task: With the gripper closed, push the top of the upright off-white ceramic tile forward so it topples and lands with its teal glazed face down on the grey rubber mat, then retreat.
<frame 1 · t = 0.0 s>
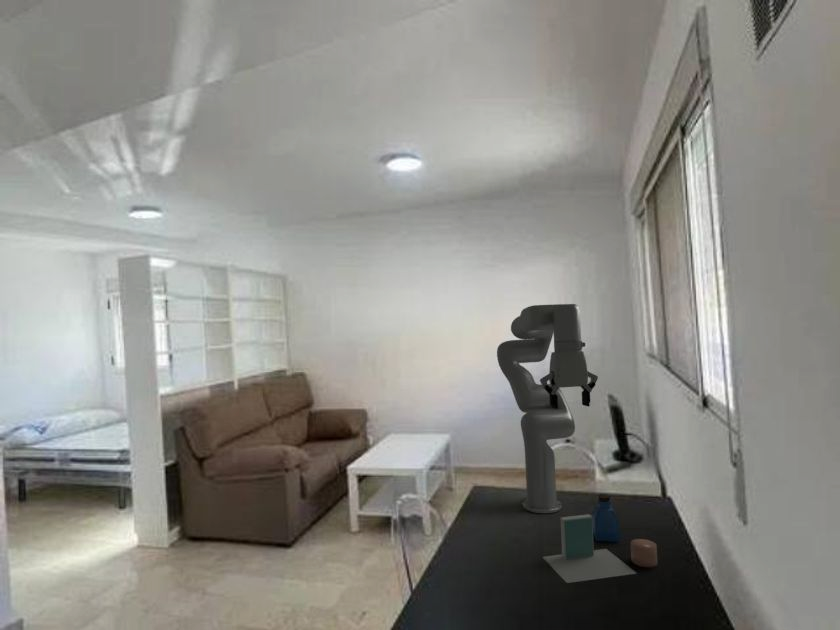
hand: (570, 406, 150), 37 cm above the table, tool pointing down, fingers open, 9 cm apart
brown rounded cylinder: (644, 564, 131), on the table
tile: (578, 556, 135), point 1 cm above the table, touching mat
mat: (587, 567, 130), on the table
perfume bottle: (606, 539, 147), on the table
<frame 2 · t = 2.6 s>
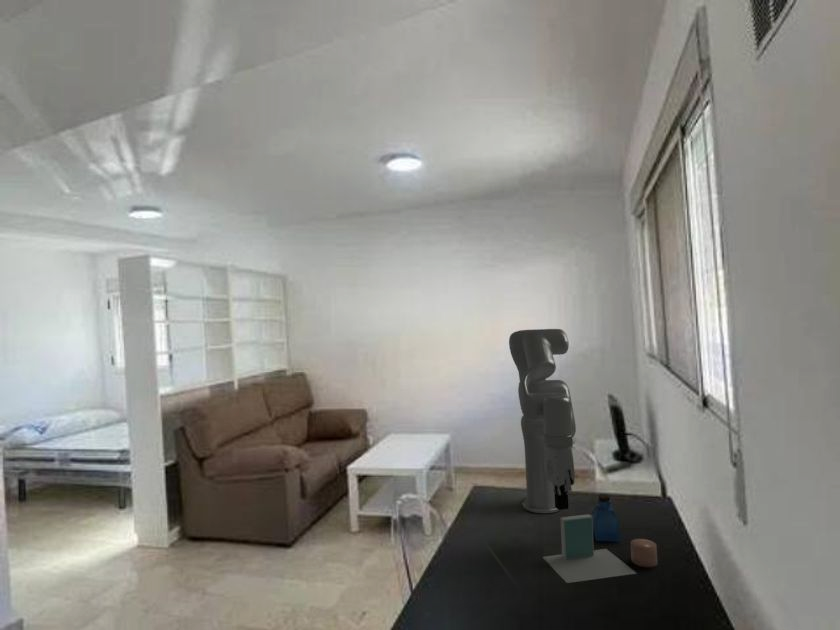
hand: (561, 508, 144), 10 cm above the table, tool pointing down, fingers closed
nothing on the table moved.
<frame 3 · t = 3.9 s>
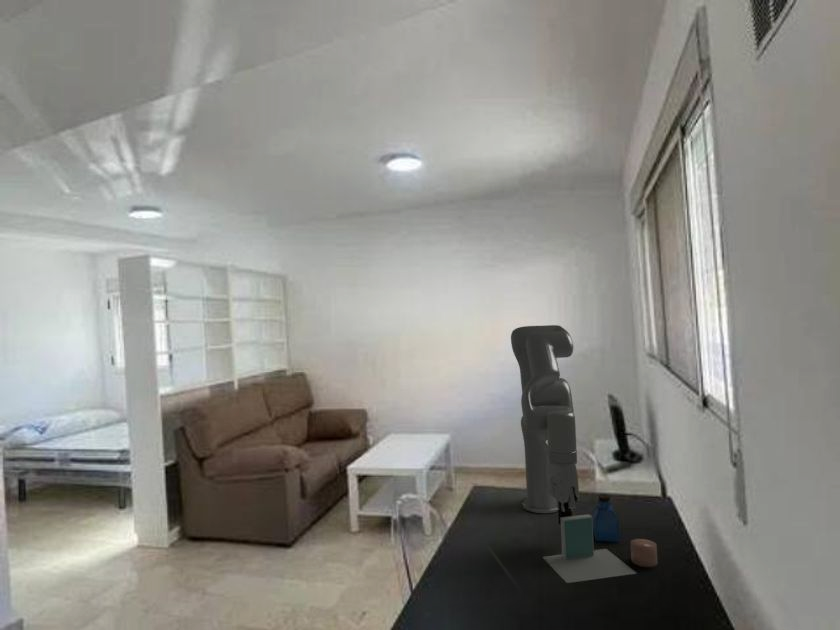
hand: (565, 524, 142), 6 cm above the table, tool pointing down, fingers closed
nothing on the table moved.
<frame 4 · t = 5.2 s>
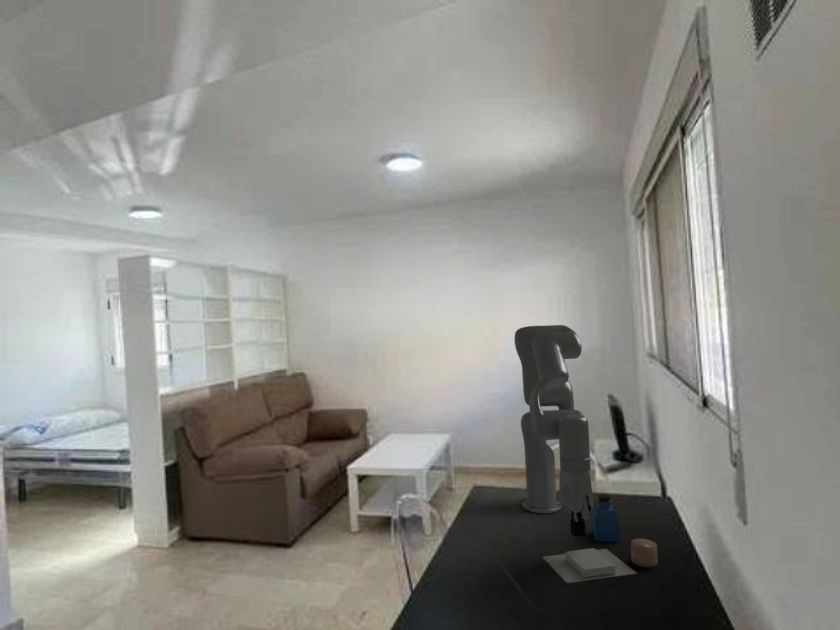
hand: (578, 535, 135), 6 cm above the table, tool pointing down, fingers closed
tile: (579, 553, 134), point 2 cm above the table, tilted 90°, touching mat
everything else where it was.
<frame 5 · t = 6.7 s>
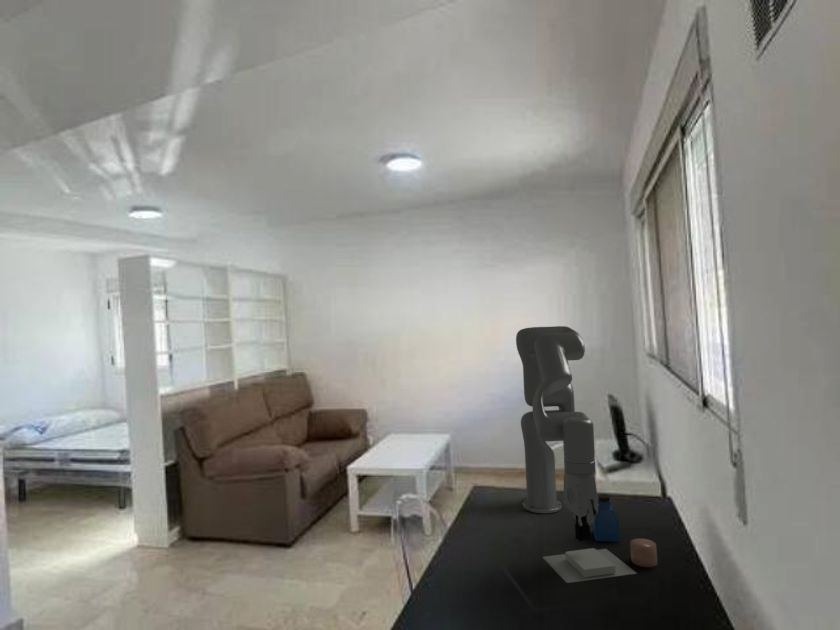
hand: (582, 539, 133), 6 cm above the table, tool pointing down, fingers closed
nothing on the table moved.
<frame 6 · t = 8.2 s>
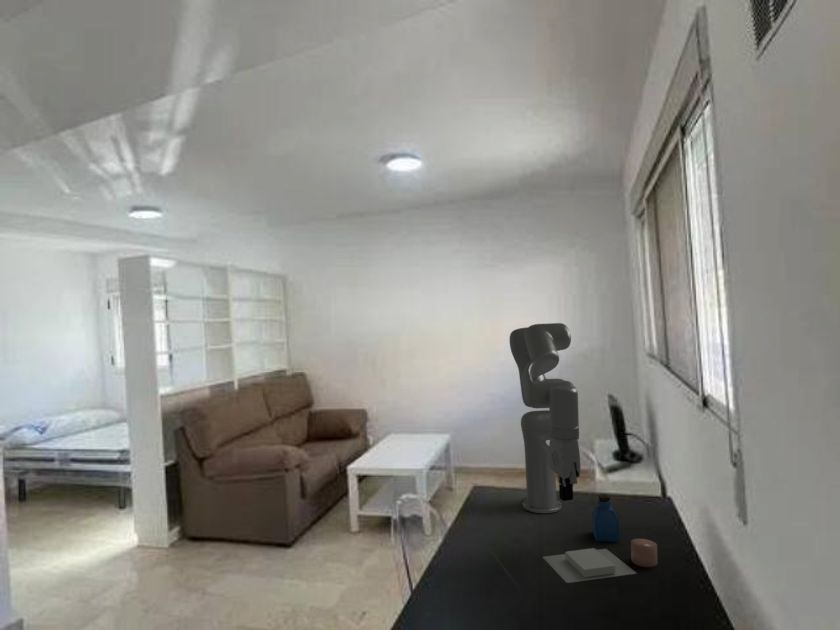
hand: (566, 499, 142), 13 cm above the table, tool pointing down, fingers closed
nothing on the table moved.
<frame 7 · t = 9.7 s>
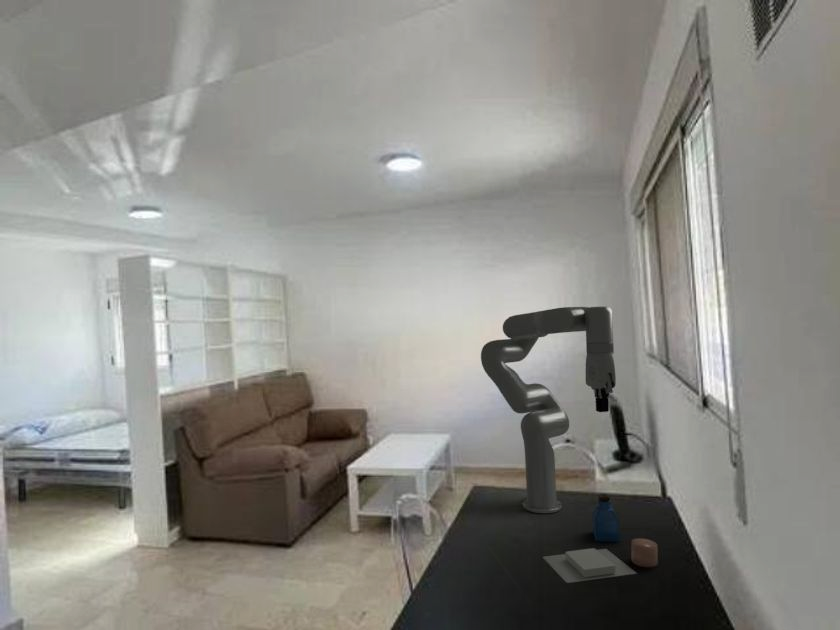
hand: (602, 411, 153), 34 cm above the table, tool pointing down, fingers closed
nothing on the table moved.
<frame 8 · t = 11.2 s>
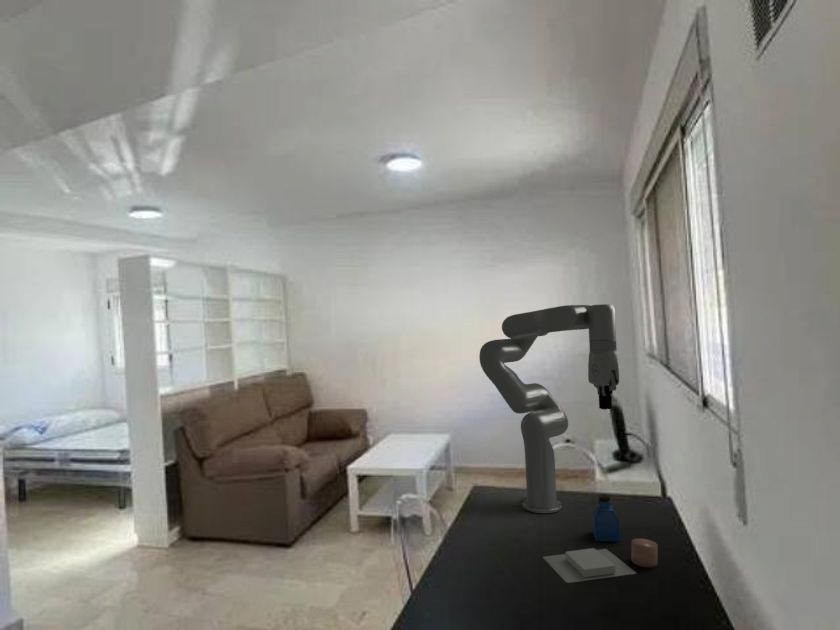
hand: (605, 408, 154), 35 cm above the table, tool pointing down, fingers closed
nothing on the table moved.
at the end: tile tilted 90°; tile inside the target area (5.0 cm from its centre), point 1.6 cm above the table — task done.
